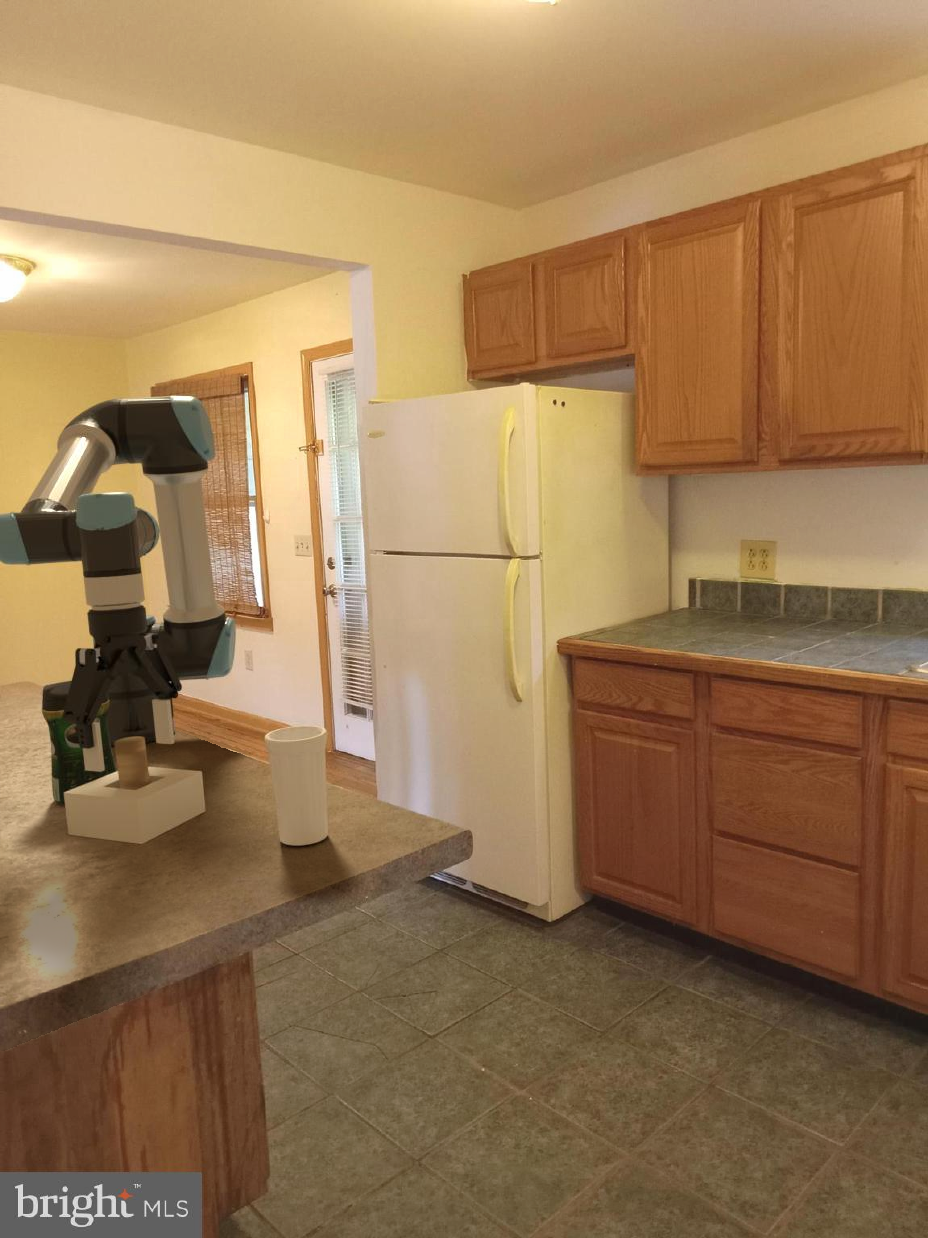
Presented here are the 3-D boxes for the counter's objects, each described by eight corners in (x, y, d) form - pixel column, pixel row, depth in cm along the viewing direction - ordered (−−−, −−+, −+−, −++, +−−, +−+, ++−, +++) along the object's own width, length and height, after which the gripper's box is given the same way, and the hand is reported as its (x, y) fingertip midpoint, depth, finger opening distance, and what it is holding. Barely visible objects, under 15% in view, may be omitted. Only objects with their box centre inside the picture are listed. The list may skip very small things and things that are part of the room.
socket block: (136, 803, 137) (132, 765, 136) (205, 811, 132) (201, 771, 131) (68, 834, 125) (63, 792, 124) (141, 844, 120) (137, 800, 119)
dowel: (138, 816, 131) (128, 735, 129) (160, 818, 129) (150, 737, 128) (118, 826, 127) (108, 743, 126) (140, 828, 126) (130, 745, 124)
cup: (267, 835, 121) (258, 731, 119) (326, 824, 124) (318, 722, 122) (280, 856, 113) (270, 745, 111) (342, 843, 116) (334, 735, 115)
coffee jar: (114, 784, 147) (102, 672, 145) (123, 797, 140) (111, 679, 138) (49, 797, 142) (36, 681, 140) (56, 810, 136) (41, 689, 133)
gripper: (158, 595, 137) (171, 731, 140) (20, 618, 114) (39, 781, 117) (197, 595, 134) (210, 734, 137) (64, 619, 111) (83, 785, 114)
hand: (131, 756), depth 127 cm, fingers open, 13 cm apart
